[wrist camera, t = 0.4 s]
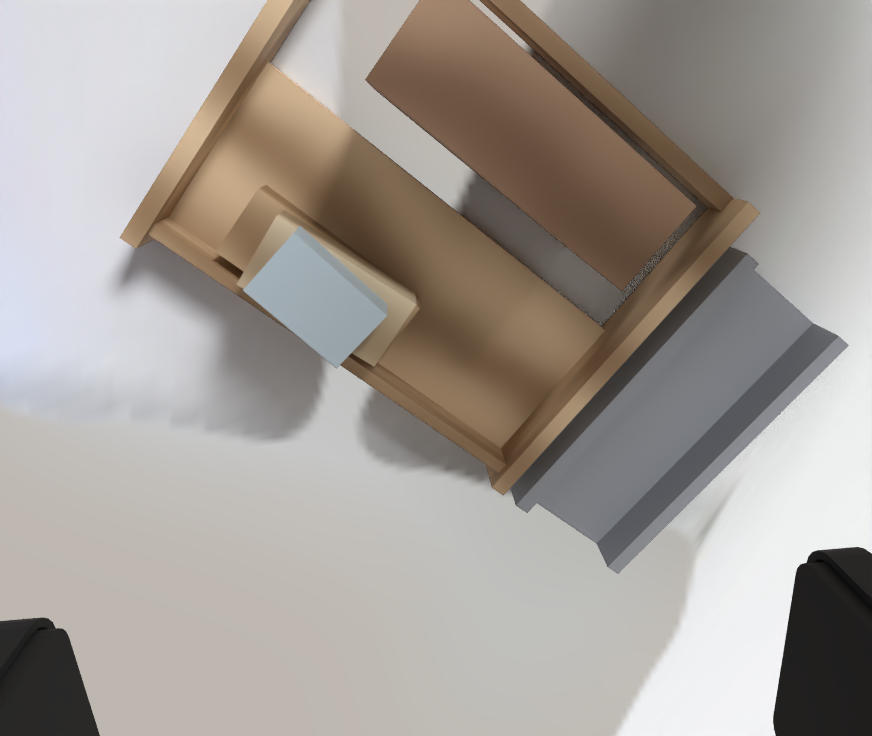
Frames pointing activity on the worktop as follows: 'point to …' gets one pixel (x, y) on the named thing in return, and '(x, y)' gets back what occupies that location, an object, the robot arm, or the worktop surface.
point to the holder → (678, 410)
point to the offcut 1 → (258, 222)
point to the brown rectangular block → (529, 137)
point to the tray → (427, 247)
